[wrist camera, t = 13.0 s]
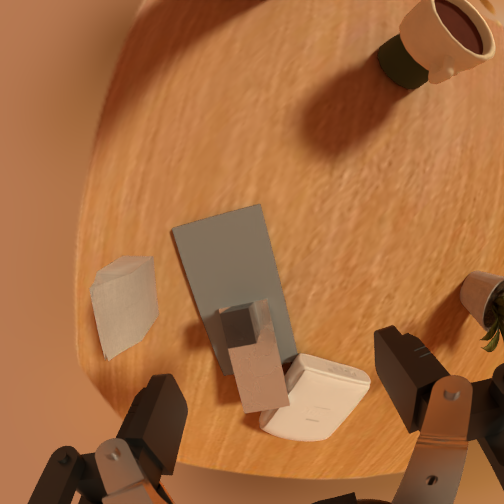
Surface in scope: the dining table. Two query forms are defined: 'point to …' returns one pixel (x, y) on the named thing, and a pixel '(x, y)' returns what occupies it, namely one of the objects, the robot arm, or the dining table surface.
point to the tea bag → (124, 302)
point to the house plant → (485, 303)
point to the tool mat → (233, 274)
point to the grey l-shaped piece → (254, 356)
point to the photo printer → (315, 399)
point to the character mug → (436, 43)
